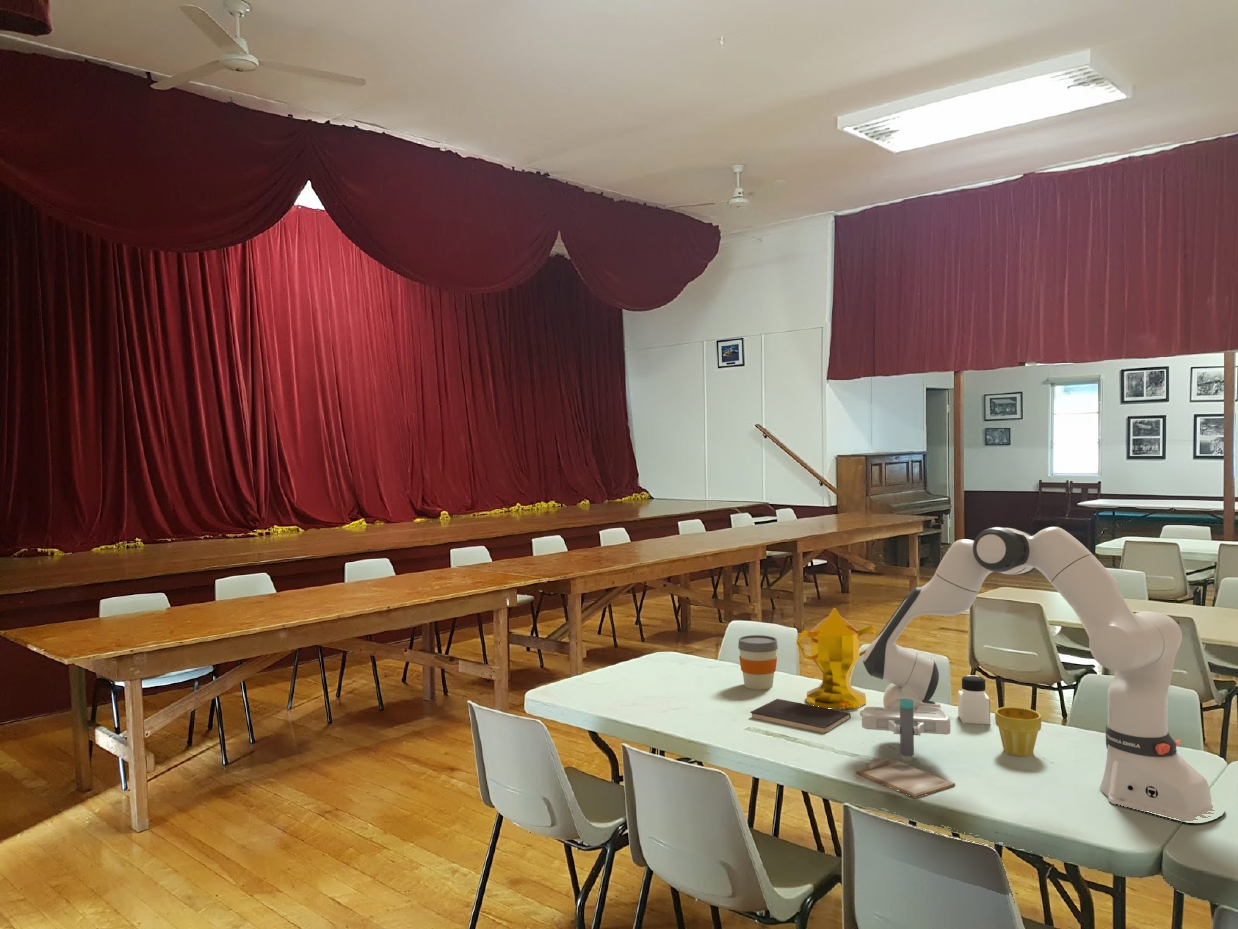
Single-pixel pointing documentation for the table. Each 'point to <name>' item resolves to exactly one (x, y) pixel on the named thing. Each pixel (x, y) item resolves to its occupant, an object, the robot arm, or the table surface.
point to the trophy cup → (835, 661)
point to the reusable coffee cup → (758, 660)
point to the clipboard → (904, 777)
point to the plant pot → (1018, 729)
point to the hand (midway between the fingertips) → (907, 731)
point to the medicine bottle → (973, 701)
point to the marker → (906, 729)
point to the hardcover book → (800, 715)
